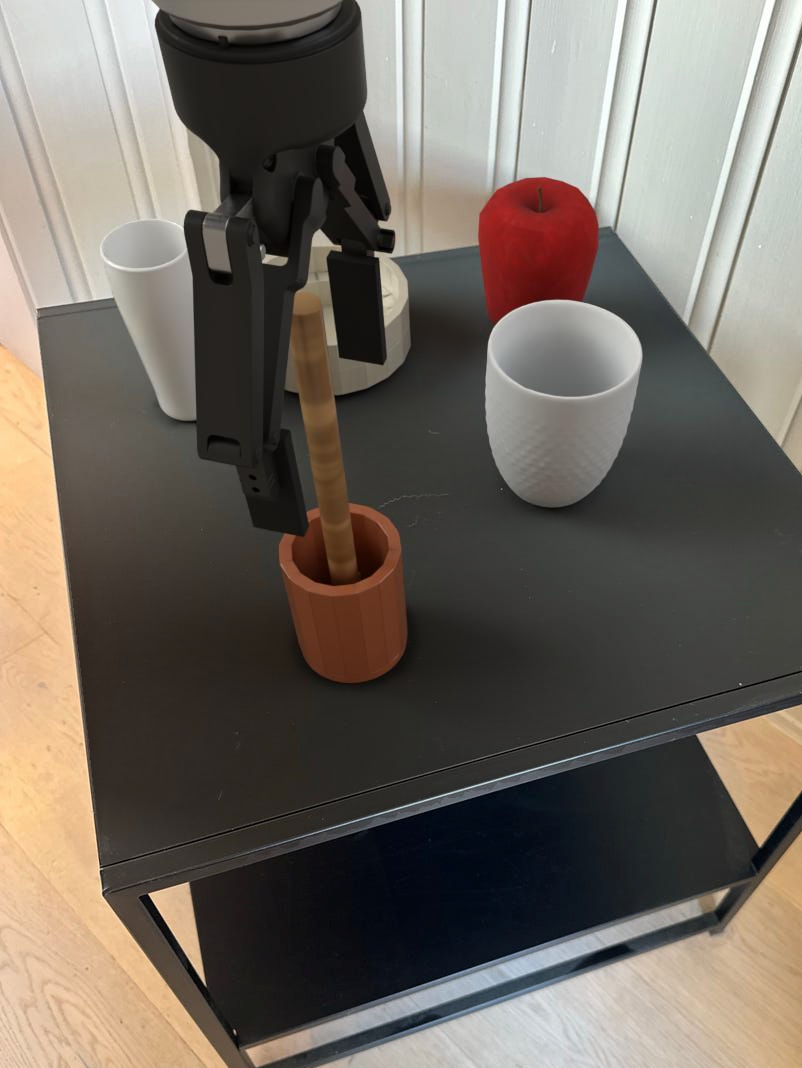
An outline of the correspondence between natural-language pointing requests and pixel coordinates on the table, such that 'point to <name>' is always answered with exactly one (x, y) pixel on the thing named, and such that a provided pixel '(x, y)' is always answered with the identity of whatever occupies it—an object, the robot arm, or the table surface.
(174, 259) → the white cylinder cup
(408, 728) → the table surface
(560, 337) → the mug
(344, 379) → the bowl
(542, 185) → the apple
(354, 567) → the wooden rod
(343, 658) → the crock
